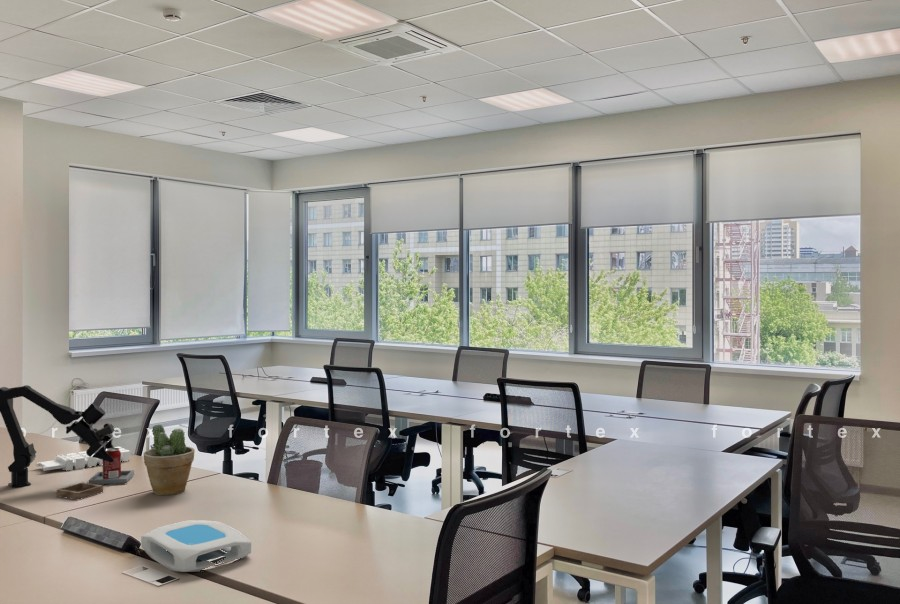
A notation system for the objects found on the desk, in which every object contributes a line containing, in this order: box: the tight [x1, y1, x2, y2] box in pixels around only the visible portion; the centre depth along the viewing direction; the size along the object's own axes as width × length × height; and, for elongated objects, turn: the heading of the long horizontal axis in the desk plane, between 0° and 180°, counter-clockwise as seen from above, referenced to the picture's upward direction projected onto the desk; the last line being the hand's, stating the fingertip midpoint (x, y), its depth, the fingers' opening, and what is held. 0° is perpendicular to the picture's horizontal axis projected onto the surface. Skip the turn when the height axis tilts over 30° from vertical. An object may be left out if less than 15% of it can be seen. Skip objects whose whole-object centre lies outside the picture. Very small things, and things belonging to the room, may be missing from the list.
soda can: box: [101, 448, 122, 479], centre depth 296 cm, size 7×7×12 cm
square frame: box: [56, 482, 104, 500], centre depth 275 cm, size 11×11×2 cm
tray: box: [87, 469, 135, 486], centre depth 296 cm, size 14×14×2 cm
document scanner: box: [140, 519, 252, 573], centre depth 214 cm, size 21×28×6 cm
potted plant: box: [143, 424, 196, 496], centre depth 280 cm, size 18×19×25 cm
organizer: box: [35, 446, 131, 472], centre depth 321 cm, size 13×5×35 cm
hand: (115, 459), depth 296 cm, fingers open, 8 cm apart
